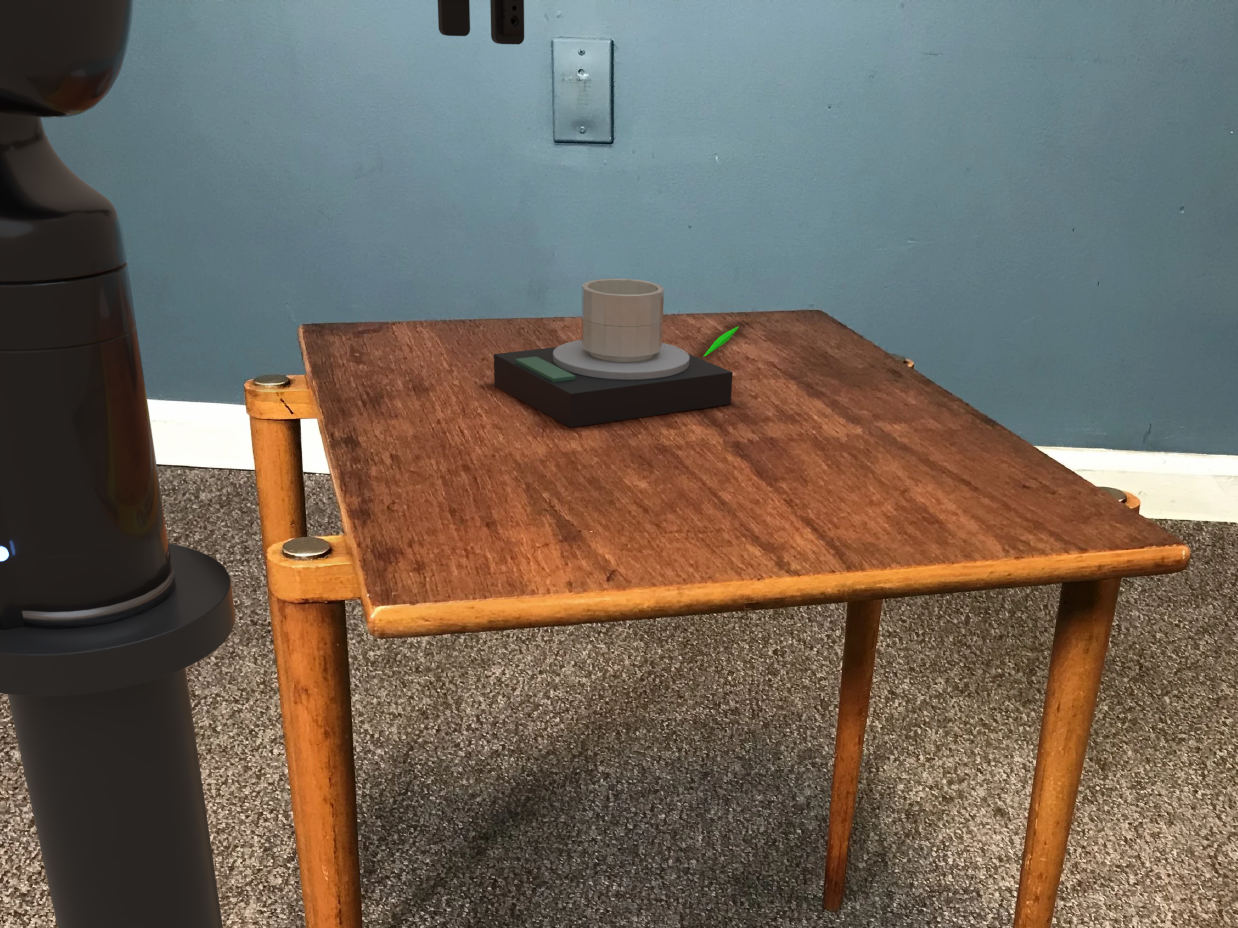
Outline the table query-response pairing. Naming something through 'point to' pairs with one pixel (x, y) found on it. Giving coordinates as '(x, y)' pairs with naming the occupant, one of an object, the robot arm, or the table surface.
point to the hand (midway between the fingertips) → (480, 39)
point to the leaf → (721, 340)
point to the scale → (610, 383)
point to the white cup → (622, 319)
